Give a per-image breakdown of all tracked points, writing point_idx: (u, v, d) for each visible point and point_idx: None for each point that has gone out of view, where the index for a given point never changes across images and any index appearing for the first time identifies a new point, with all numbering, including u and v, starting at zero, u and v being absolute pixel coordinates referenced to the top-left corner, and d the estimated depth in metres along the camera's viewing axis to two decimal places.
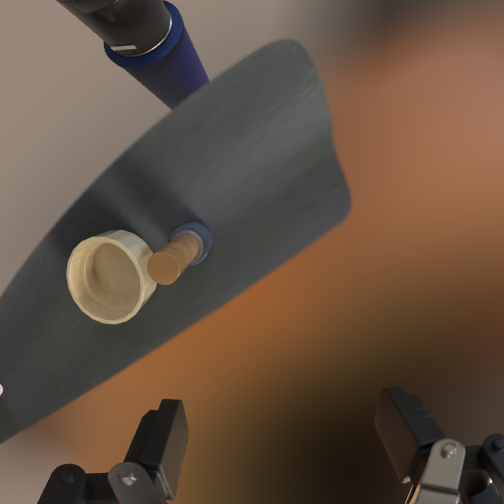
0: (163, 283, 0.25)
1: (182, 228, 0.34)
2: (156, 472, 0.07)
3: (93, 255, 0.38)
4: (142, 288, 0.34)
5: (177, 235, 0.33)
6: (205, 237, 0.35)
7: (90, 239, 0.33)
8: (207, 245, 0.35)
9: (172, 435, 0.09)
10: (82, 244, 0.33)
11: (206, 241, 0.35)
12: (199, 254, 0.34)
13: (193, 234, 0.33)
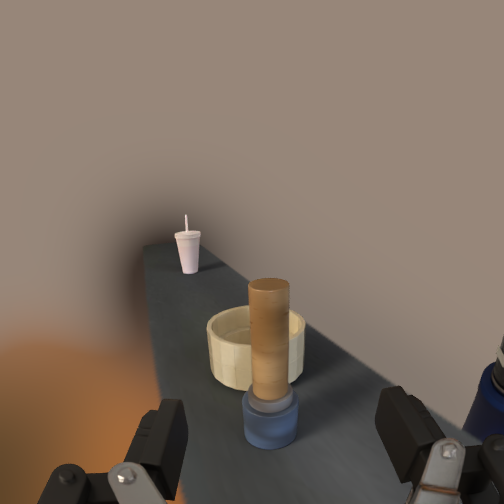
0: (250, 283, 0.22)
1: (294, 397, 0.24)
2: (156, 472, 0.07)
3: None
4: (236, 344, 0.29)
5: (288, 385, 0.24)
6: (276, 416, 0.22)
7: (303, 322, 0.34)
8: (264, 416, 0.22)
9: (172, 435, 0.09)
10: (299, 317, 0.35)
11: (270, 416, 0.22)
12: (256, 399, 0.22)
13: (285, 398, 0.22)
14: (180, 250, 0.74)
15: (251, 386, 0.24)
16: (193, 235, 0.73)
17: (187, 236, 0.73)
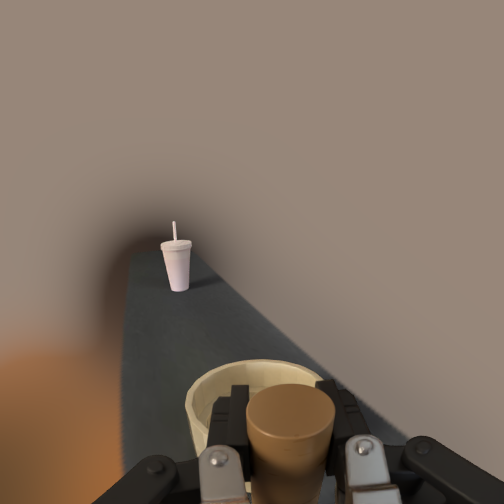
0: (252, 402, 0.09)
1: None
2: (242, 453, 0.08)
3: None
4: None
5: None
6: None
7: None
8: None
9: None
10: None
11: None
12: None
13: None
14: (167, 264, 0.62)
15: None
16: (182, 246, 0.61)
17: (175, 247, 0.60)
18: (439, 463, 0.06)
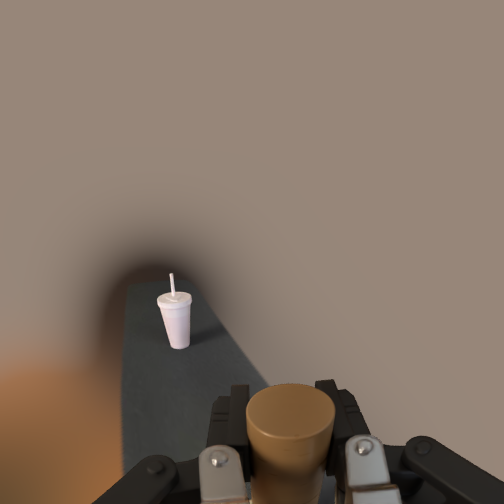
0: (251, 402, 0.09)
1: None
2: (242, 453, 0.08)
3: None
4: None
5: None
6: None
7: None
8: None
9: None
10: None
11: None
12: None
13: None
14: (165, 321, 0.55)
15: None
16: (181, 304, 0.54)
17: (173, 305, 0.53)
18: (439, 463, 0.06)
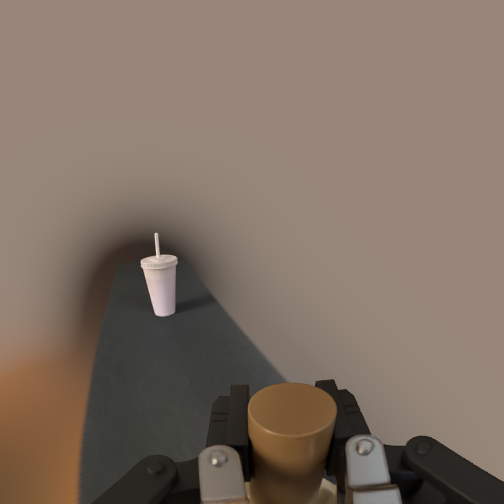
0: (253, 400, 0.09)
1: None
2: (241, 453, 0.08)
3: None
4: None
5: None
6: None
7: None
8: None
9: None
10: None
11: None
12: None
13: None
14: (148, 284, 0.51)
15: None
16: (165, 264, 0.50)
17: (156, 265, 0.49)
18: (439, 463, 0.06)
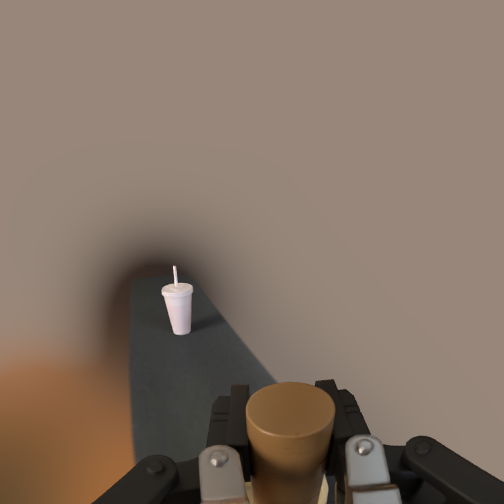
0: (251, 401, 0.09)
1: None
2: (242, 453, 0.08)
3: None
4: None
5: None
6: None
7: (325, 485, 0.20)
8: None
9: None
10: None
11: None
12: None
13: None
14: (169, 309, 0.61)
15: None
16: (183, 293, 0.60)
17: (176, 294, 0.59)
18: (439, 463, 0.06)
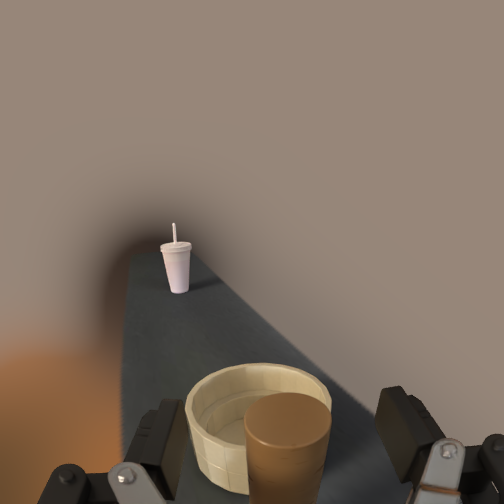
0: (249, 411, 0.09)
1: None
2: (156, 472, 0.07)
3: None
4: (227, 445, 0.17)
5: None
6: None
7: (328, 397, 0.21)
8: None
9: (172, 435, 0.09)
10: (322, 388, 0.22)
11: None
12: None
13: None
14: (167, 266, 0.62)
15: None
16: (182, 248, 0.61)
17: (175, 249, 0.60)
18: None
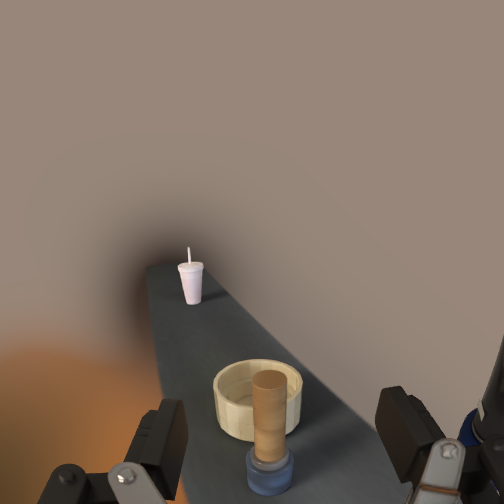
0: (253, 377, 0.24)
1: (290, 456, 0.25)
2: (156, 472, 0.07)
3: None
4: (240, 406, 0.31)
5: (285, 447, 0.26)
6: (274, 473, 0.23)
7: (300, 380, 0.35)
8: (264, 474, 0.23)
9: (172, 435, 0.09)
10: (297, 375, 0.37)
11: (269, 473, 0.23)
12: (257, 461, 0.24)
13: (282, 459, 0.24)
14: (183, 282, 0.76)
15: (253, 448, 0.26)
16: (196, 268, 0.75)
17: (190, 269, 0.74)
18: None
